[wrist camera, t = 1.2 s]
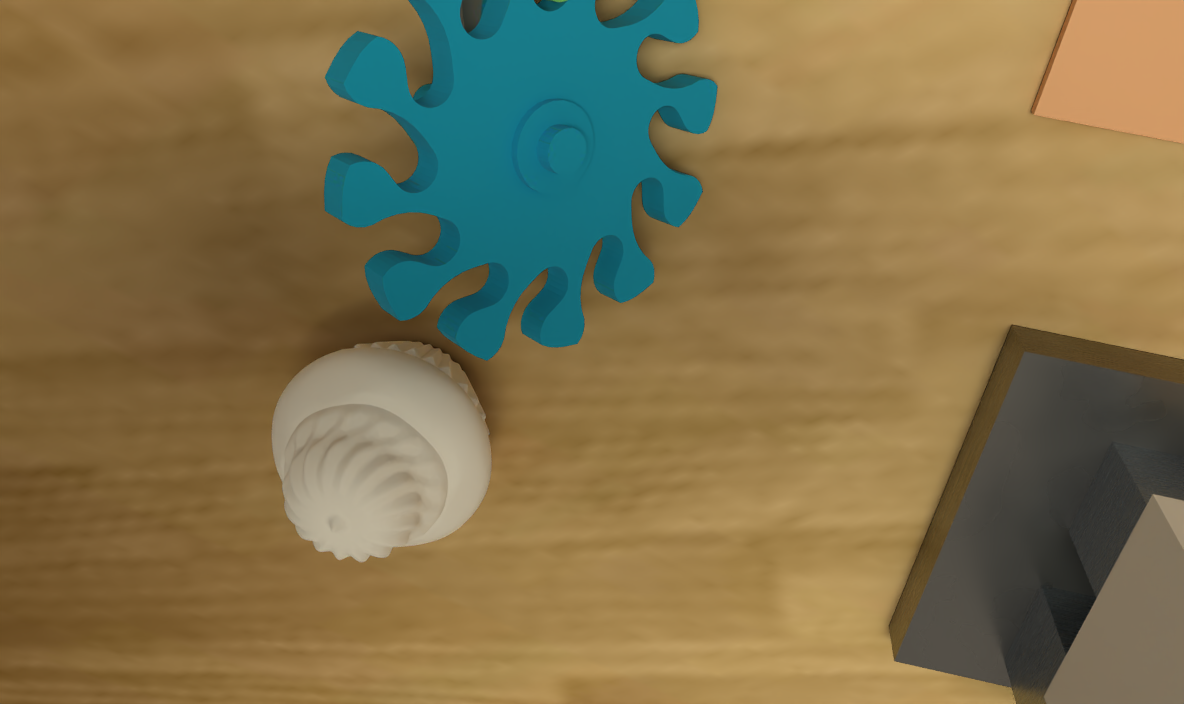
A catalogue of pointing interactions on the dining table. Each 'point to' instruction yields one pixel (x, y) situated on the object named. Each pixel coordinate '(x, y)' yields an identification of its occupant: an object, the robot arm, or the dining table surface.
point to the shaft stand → (1040, 507)
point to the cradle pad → (1119, 68)
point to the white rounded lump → (380, 449)
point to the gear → (520, 157)
